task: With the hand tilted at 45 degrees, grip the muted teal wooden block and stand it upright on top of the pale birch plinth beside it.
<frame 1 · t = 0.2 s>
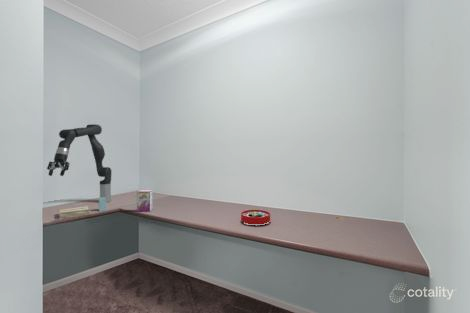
hand: (55, 175, 166), 31 cm above the table, tool tilted 20°, fingers open, 8 cm apart
birch plinth: (74, 214, 177), on the table
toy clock: (255, 222, 159), on the table
candy bar box: (144, 210, 188), on the table
teal block: (102, 210, 191), on the table
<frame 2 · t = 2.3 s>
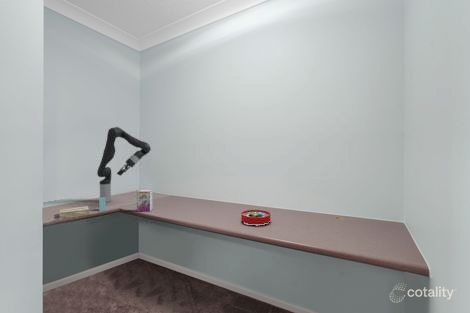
hand: (118, 174, 197), 29 cm above the table, tool tilted 45°, fingers open, 8 cm apart
nothing on the table moved.
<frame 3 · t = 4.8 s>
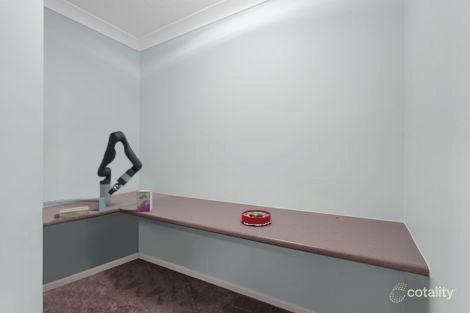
hand: (109, 193, 194), 13 cm above the table, tool tilted 45°, fingers open, 8 cm apart
nothing on the table moved.
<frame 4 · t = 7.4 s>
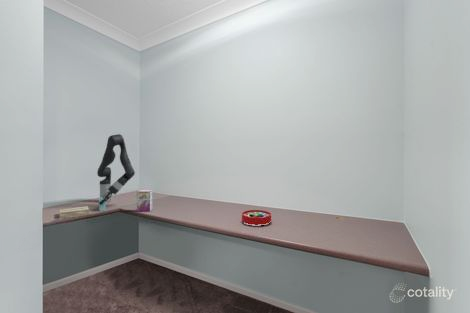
hand: (99, 203, 190), 6 cm above the table, tool tilted 45°, fingers closed on teal block, 4 cm apart
teal block: (102, 210, 191), on the table, touching gripper
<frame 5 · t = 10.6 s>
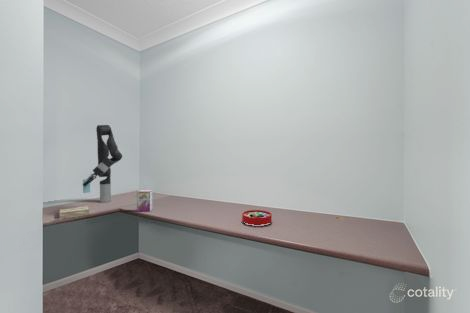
hand: (83, 185, 181), 22 cm above the table, tool tilted 45°, fingers closed on teal block, 4 cm apart
teal block: (86, 192, 182), point 16 cm above the table, touching gripper
when the fingers open (11 cm above the table, at t = 14.2 s): teal block drops 1 cm, resting on birch plinth.
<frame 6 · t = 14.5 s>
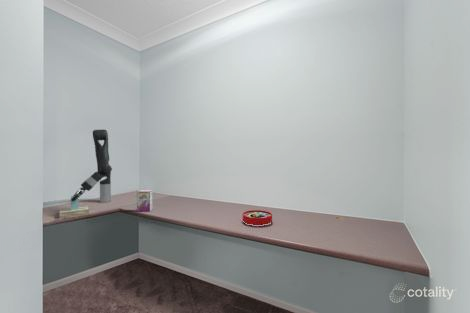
hand: (71, 199, 176), 12 cm above the table, tool tilted 45°, fingers open, 7 cm apart
teal block: (74, 209, 177), point 4 cm above the table, touching birch plinth
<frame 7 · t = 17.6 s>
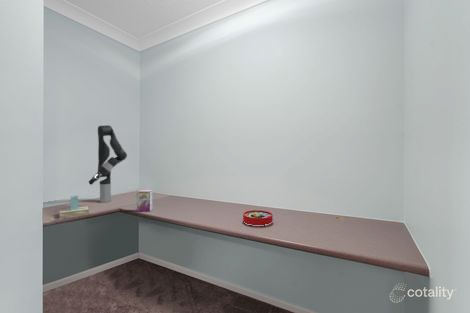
hand: (89, 183, 183), 23 cm above the table, tool tilted 45°, fingers open, 8 cm apart
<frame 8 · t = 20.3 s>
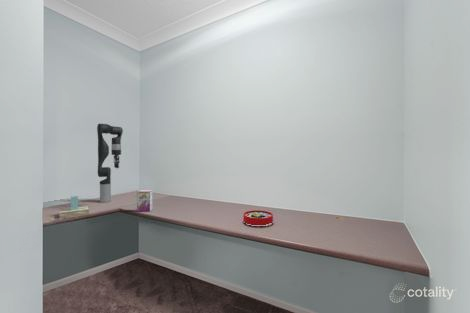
hand: (116, 167, 203), 34 cm above the table, tool pointing down, fingers open, 8 cm apart
at the end: teal block inside the target area on the birch plinth (0.1 cm from its centre), point 4.0 cm above the birch plinth's base; teal block tilted 0°; the gripper is holding nothing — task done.
